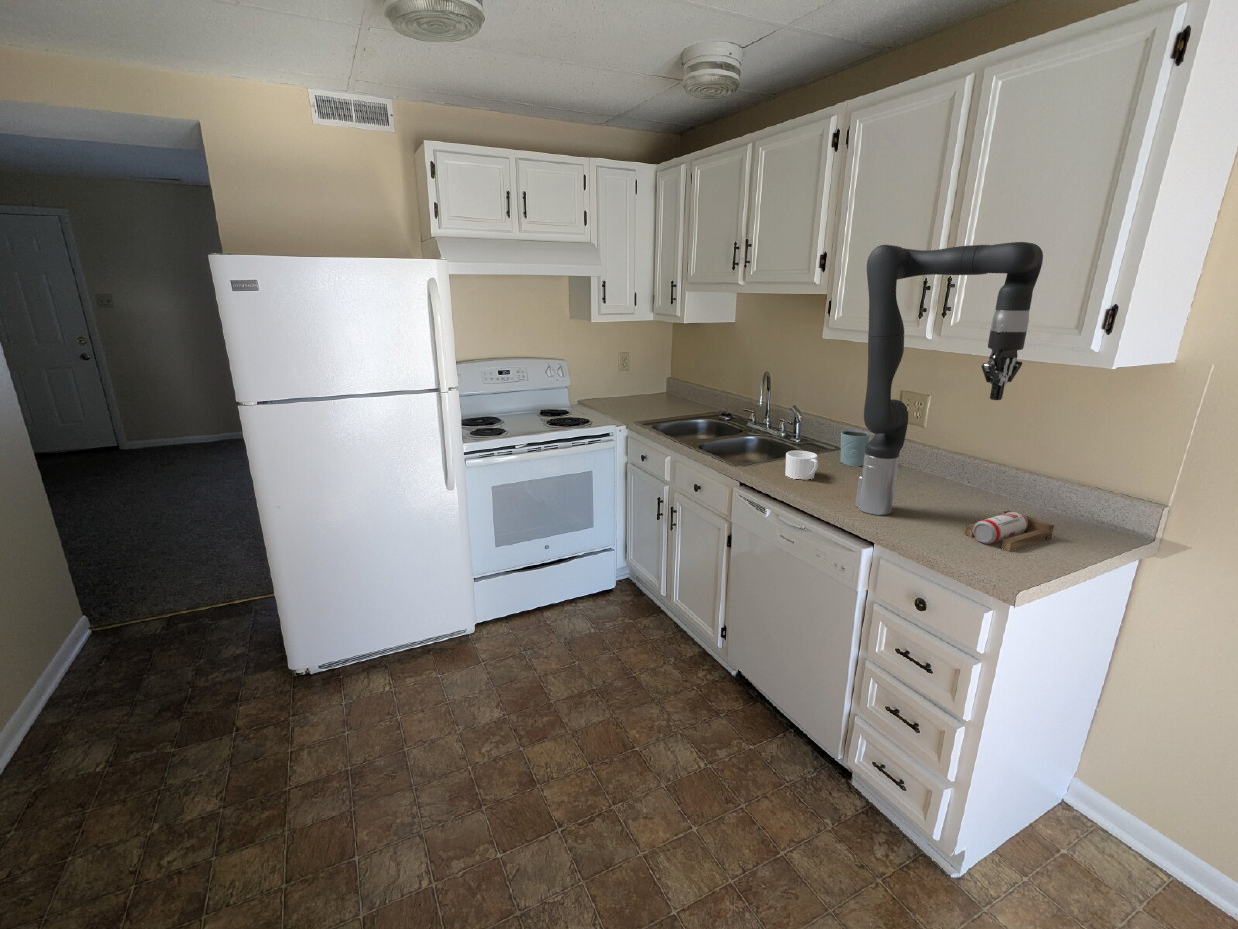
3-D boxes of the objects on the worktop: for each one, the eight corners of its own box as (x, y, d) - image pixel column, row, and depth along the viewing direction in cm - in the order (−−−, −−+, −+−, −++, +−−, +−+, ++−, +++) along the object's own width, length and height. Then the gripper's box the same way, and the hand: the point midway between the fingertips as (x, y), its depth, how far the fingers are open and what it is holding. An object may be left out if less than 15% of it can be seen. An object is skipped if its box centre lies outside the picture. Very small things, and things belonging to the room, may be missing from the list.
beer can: (974, 545, 156) (1009, 534, 163) (998, 543, 151) (1033, 532, 158) (968, 522, 157) (1003, 512, 164) (991, 519, 151) (1026, 509, 159)
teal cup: (853, 469, 219) (857, 437, 215) (831, 462, 227) (835, 431, 224) (871, 465, 223) (875, 434, 220) (850, 458, 232) (853, 428, 228)
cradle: (964, 534, 160) (967, 520, 159) (1006, 523, 168) (1008, 510, 167) (1009, 551, 150) (1012, 537, 149) (1051, 539, 158) (1054, 525, 157)
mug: (778, 474, 213) (779, 452, 210) (801, 470, 217) (803, 449, 214) (803, 485, 201) (805, 462, 199) (827, 481, 205) (829, 458, 203)
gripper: (1009, 327, 151) (997, 395, 156) (976, 329, 145) (964, 399, 150) (1041, 329, 144) (1026, 400, 149) (1007, 331, 139) (993, 404, 143)
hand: (995, 399), depth 149 cm, fingers closed
